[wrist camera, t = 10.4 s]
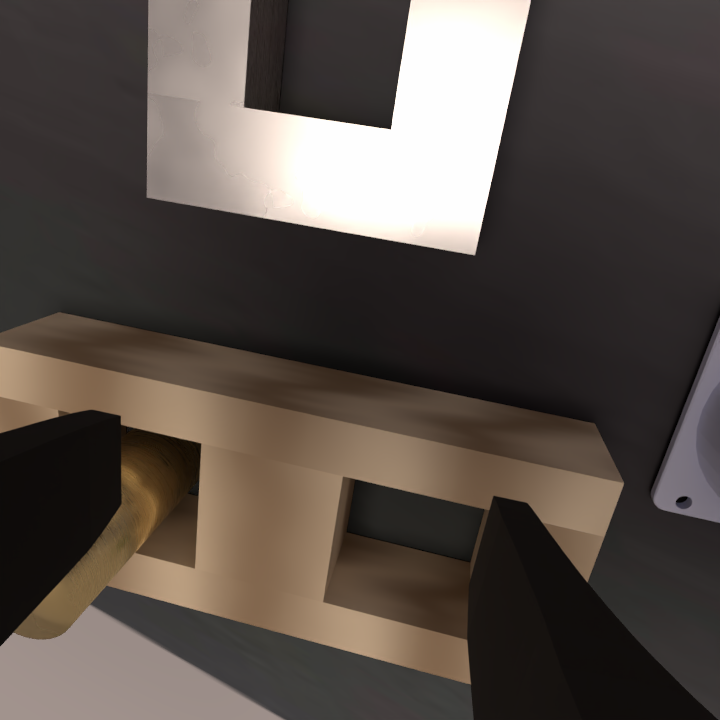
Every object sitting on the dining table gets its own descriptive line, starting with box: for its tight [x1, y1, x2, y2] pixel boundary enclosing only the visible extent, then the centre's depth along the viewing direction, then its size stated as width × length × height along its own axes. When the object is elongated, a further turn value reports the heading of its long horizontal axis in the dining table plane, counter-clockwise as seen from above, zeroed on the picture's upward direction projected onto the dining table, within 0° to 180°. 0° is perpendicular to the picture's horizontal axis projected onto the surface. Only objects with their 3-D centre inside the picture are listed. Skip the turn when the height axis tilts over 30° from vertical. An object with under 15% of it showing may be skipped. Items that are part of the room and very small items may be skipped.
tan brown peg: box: [14, 428, 201, 639], centre depth 19 cm, size 3×3×9 cm
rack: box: [0, 312, 624, 684], centre depth 21 cm, size 21×9×4 cm, turn 82°
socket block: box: [147, 0, 531, 255], centre depth 16 cm, size 10×10×3 cm
